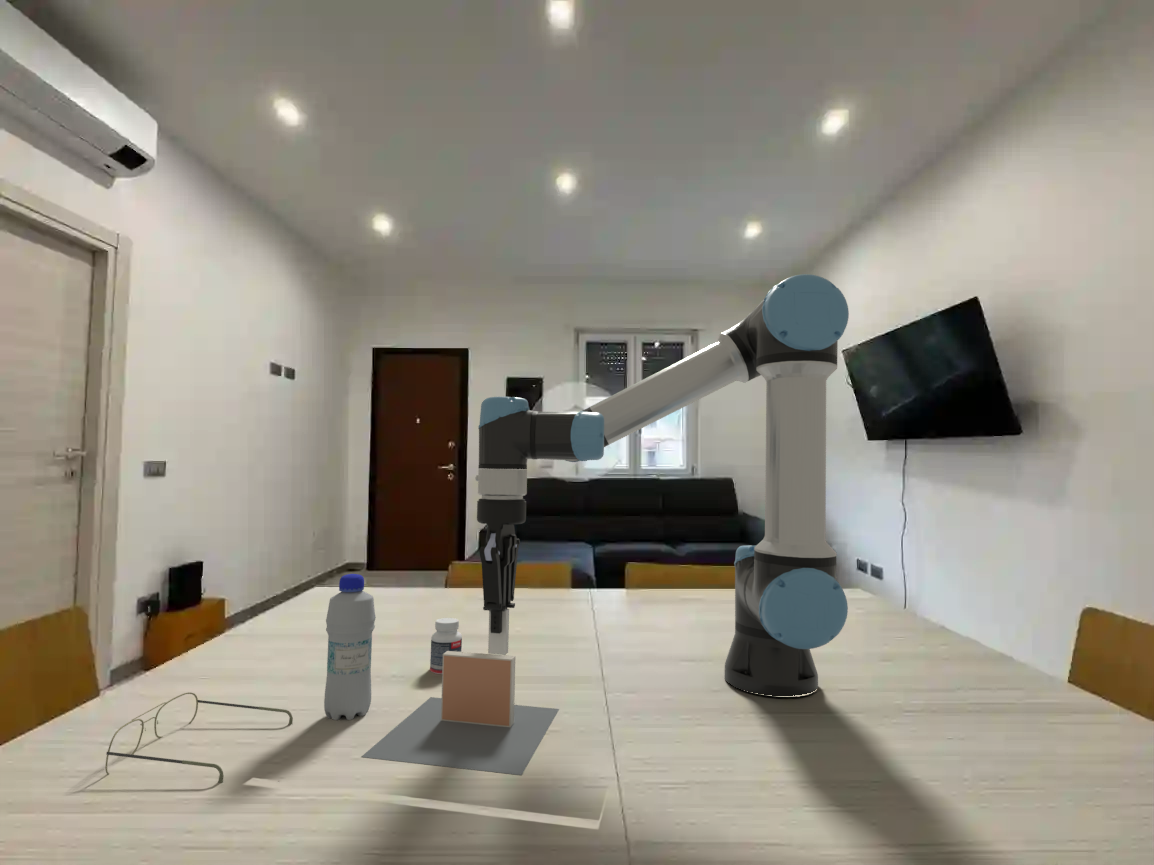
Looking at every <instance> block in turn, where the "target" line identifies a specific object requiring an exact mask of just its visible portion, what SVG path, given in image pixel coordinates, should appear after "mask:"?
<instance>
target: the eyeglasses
mask: <svg viewBox="0 0 1154 865" xmlns="http://www.w3.org/2000/svg"><path fill="white" fill-rule="evenodd" d="M185 695H192V696H194V698H195V702H196V704H195V711H194V714H193V716H192V719H191V720H190V721H189V722H188V723H187V724H188V725H191V723H192V722H193V721H194V720H195V717H196V716H197V712H198V708H199V704H207V705H209V704H210V705H218V706H223V707H224V706H226V707H235V708H244V709H251V710H252V709H253V710H261V711H271V712H277V713H285V714H287V715H288V718H289V720H288V725H290V726H291V724H292V725H293V721H294V718H293V715H292V713H291V712H290V710H288V709H284V708H282V709H281V708H274V707H267V706H253V705H244V704H236V703H227V702H220V701H219V702H218V701H210V700H203V699H201V700H200V699H198V696H197V694H196V693H195V692H192V691H191V692H184V693H181V694H179V695H177V696H175V697H173V698H171V699H169V700H168V701H166V702H162V703H160V704H158V705H157V706H155V707H152V708H151V709H150V710H147V711H145V712H144V713H141V714H140V715H137V716H136V717H134V718H132V719H131V720H130V721H128V722H127V723H125V724H124V725H122V726H120V728H118V729H117V730H116V732H115V733H114V734H113V736H112V738H111V740H110V743H109V745H108V749H107V751H106V753H105V754H106V759H105V767H104V768H105V774H106V775H110V774H111V773H110V772H109V771H108V762H109V756H114V757H115V756H116V757H123V758H132V759H140V760H147V761H148V760H149V761H157V762H167V763H174V764H180V765H181V764H182V765H189V766H198V767H207V768H214V769H216V770H217V771H218V773H219V776H218V781H217V783H220V784H221V783H224V771H223V769H222V768H221V766H220V765H219V764H217V763H210V762H201V761H193V760H187V759H185V760H184V759H183V760H182V759H173V758H166V757H165V758H164V757H156V756H147V755H139V754H135V753H136V751H137V750H138V748H139V745H140V743H141V740H142V737H143V734H144V731H145V732H146V731H147V730H146V727H145V723H147V722H149V721H151V720H153V719H154V728H153V730H154V735H155V737H156V738H158V739H161V738H163V736H160V735H158V733H157V732H158V731H157V725H158V724H159V720H157V718H158V715H159V713H160V711H161V710H162V709H163V708H164V707H165V706H166V705H168V704H169V703H170V702H172V701H174V700H176V699H178V698H180V697H182V696H185ZM158 707H159V709H158V710H157V712H156V715H155V716H153V717H151V718H148V719H147V720H145V721H144V720H143V719H141V718H140V717H141V716H143V715H145V714H147V713H149V712H151V711H153V710H154V709H157V708H158ZM138 721H140V722H141V723H140V726H141V732H140V735H139V738H138V741H137V745H136V747H135V748H134V749H133V751H132V753H131V754H129V753H122V752H113V751H110V750H111V747H112V744H113V742H114V740H115V737H116V736H117V734H118V733H119V732H120V731H121V730H122V729H123V728H125V727H126V726H128V725H129V724H131V723H133V722H138Z"/></svg>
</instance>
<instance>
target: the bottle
mask: <svg viewBox="0 0 1154 865" xmlns="http://www.w3.org/2000/svg"><path fill="white" fill-rule="evenodd" d="M364 589H365V579H364V576H363V575H361V574H356V573H348V574H344V575H342V576H341V578H340V579H339V583H338V591H340V592H339V593H337V594H335V595H333V596H331V597H330V599H329V601H328V608H327V614H326V619H325V623H326V624H325V625H326V629H325V630H326V631H325V632H326V633H327V637H328V638H327V642H328V643H327V658H326V659H327V660H326V661H327V663H326V682H325V689H324V700H323V708H324V713H325V716H326V718H327V719H329V720H333V721H338V720H340V719H341V718H342V716H345V719H346V720H347V721H348V720H353V719H354V717H355V716H356V715H357V716H360V717H363V716H366V714H367V712H368V711H369V709H370V706H371V704H372V703H371V702H372V672H371V671H372V650H373V649H372V647H373V646H372V645H373V632H374V629H375V626H376V625H375V622H376V610H375V599H374V596H373V595H372V594H370V593H368V592H366V591H364Z"/></svg>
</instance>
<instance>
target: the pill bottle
mask: <svg viewBox="0 0 1154 865" xmlns="http://www.w3.org/2000/svg"><path fill="white" fill-rule="evenodd" d="M459 624H460V621H459V619H458V618H455V617H454V618H453V617H443V618H437V619H436V620H435V624H434V627H435V632H434V633H433V634H432V635H431V638H430V660H429V662H430V663H429V664H430V665H429V671H430V672H431V673H434V674H437V675H442V666H443V654H444V653H445V652H446V651H456V652H462V645H463V643H462V642H463V636H462V633H461V632H460V631H458V630H459V627H460V625H459Z"/></svg>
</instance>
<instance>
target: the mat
mask: <svg viewBox="0 0 1154 865" xmlns="http://www.w3.org/2000/svg"><path fill="white" fill-rule="evenodd" d="M441 701H442V697H434V696H433V697H432V696H430V697H429V698H427V699H426V701H424V702H423V703H422V704H420V706H418V707H417V708H416V709H415V710H414V711H413V712H412V713H410V714H409V715H408V716H407V717H406V718H404V719H403V720H402V721H401V722H400V723H398V725H397V726H395V727H394V728H393V729H392V730H390V732H388V733H387V734H386V735H385V736H384V737H382V738H381V739H380V740H379V741H377V743H375V744H374V745H373V746H371V747H370V748H369V749H368V750H367V751H366V752H365V753H363V755H361V757H360V758H366V759H375V760H383V761H392V762H401V763H408V764H409V763H410V764H420V765H426V766H436V767H445V768H451V769H452V768H453V769H454V768H456V769H463V770H471V771H480V772H488V773H499V774H505V775H507V774H508V775H515V776H522V775H524V772H525V770H526V768H527V766H528V765H529V763H530V761H531V759H532V758H533V756H534V754H535V752H536V751H537V749H538V747H539V745H540V744H541V742H542V740H543V739H544V737H545V735H546V733H547V731H548V730H549V728H550V726H551V724H552V723H553V721H554V719H555V717H556V716H557V714H558V712H559V710H560V708H555V707H554V708H553V707H544V706H541V707H540V706H532V705H531V706H530V705H520V704H519V705H518V704H514V723H513V725H512V726H511V727H502V726H491V725H481V724H471V723H461V722H451V721H441Z"/></svg>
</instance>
